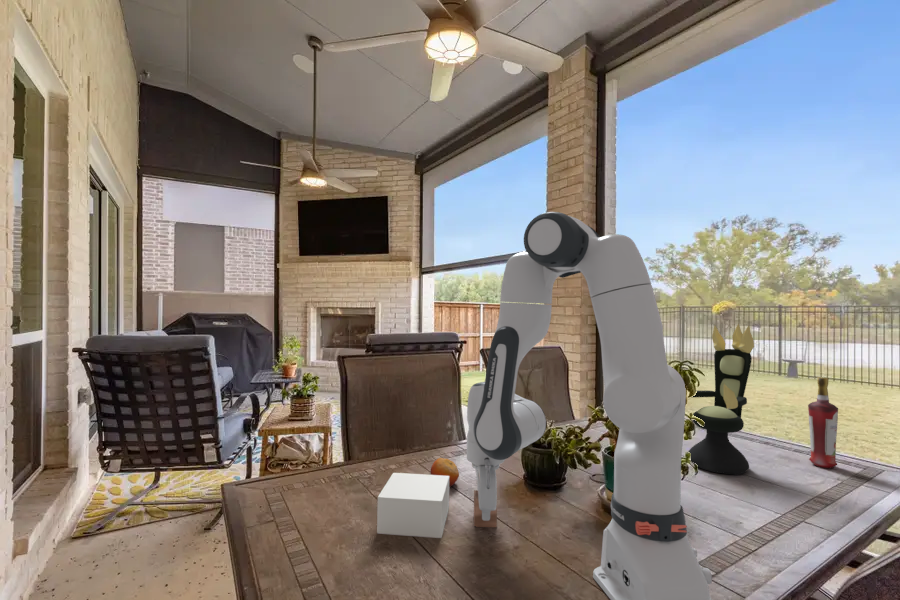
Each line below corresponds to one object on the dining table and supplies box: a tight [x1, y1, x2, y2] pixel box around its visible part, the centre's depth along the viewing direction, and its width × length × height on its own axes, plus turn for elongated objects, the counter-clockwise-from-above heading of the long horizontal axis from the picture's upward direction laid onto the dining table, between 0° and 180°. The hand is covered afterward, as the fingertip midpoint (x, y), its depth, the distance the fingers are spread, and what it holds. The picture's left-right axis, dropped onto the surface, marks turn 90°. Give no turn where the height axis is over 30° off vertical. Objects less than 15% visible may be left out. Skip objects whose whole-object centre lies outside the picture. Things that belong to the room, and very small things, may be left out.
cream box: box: [376, 472, 450, 539], centre depth 100 cm, size 14×14×8 cm
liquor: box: [807, 376, 839, 469], centre depth 139 cm, size 7×7×28 cm
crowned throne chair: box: [687, 323, 755, 475], centre depth 139 cm, size 19×22×45 cm
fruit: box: [430, 457, 460, 488], centre depth 120 cm, size 8×8×8 cm
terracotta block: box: [473, 489, 498, 528], centre depth 99 cm, size 5×5×6 cm
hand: (485, 512), depth 99 cm, fingers closed on terracotta block, 5 cm apart
